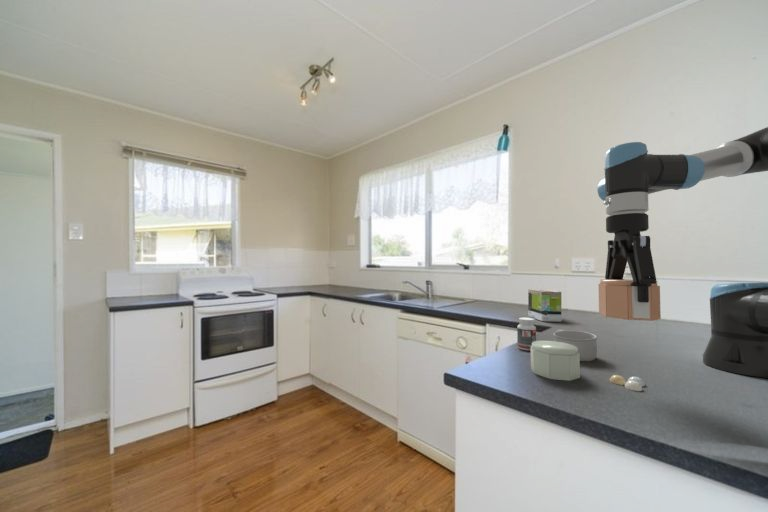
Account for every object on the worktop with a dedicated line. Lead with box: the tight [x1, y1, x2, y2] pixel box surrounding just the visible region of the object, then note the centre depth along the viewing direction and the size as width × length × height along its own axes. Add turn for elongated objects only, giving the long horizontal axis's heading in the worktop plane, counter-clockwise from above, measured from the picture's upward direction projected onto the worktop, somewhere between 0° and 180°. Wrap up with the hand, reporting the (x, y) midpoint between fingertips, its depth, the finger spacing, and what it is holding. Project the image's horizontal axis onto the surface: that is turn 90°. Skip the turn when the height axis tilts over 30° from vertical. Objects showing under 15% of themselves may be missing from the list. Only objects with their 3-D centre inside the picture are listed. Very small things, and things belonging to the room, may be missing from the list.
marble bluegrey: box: [626, 376, 645, 388], centre depth 69 cm, size 3×3×3 cm
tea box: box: [527, 288, 563, 323], centre depth 158 cm, size 15×10×15 cm
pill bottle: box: [516, 317, 537, 352], centre depth 103 cm, size 6×6×10 cm
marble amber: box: [609, 374, 627, 386], centre depth 70 cm, size 3×3×3 cm
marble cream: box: [624, 380, 643, 392], centre depth 67 cm, size 3×3×3 cm
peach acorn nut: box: [597, 278, 661, 322], centre depth 69 cm, size 10×10×8 cm
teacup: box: [552, 329, 598, 362], centre depth 91 cm, size 14×11×8 cm
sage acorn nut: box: [530, 340, 581, 382], centre depth 77 cm, size 10×10×8 cm
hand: (628, 313), depth 69 cm, fingers closed on peach acorn nut, 10 cm apart
